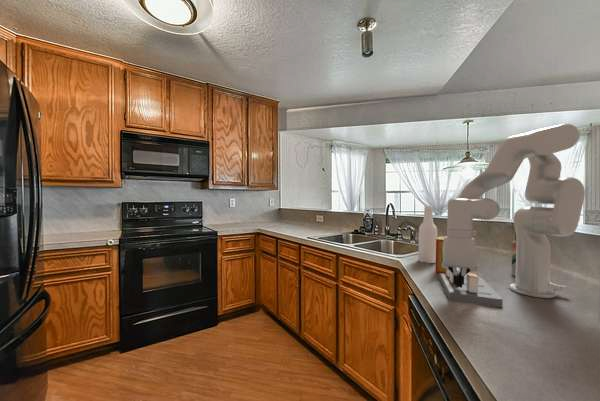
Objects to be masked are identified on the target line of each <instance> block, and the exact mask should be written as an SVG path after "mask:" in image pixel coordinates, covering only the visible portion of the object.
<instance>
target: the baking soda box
mask: <svg viewBox="0 0 600 401" xmlns="http://www.w3.org/2000/svg"><path fill="white" fill-rule="evenodd" d="M444 237H445V236H437V239H436V263H435V273H436V274H440V273H443V274H446V269H445V268H442V266H441V265H442V262H443V261H442V249H443V241H444Z"/></svg>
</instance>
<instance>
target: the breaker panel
mask: <svg viewBox="0 0 600 401" xmlns="http://www.w3.org/2000/svg"><path fill="white" fill-rule="evenodd" d="M438 274H439V282H440V284H441V286H442V288H443V290H444V292H445V294H446V296H447V298H448V301H451V302H453V301H454V302H460V303H461V302H462V303H468V304H474V305H476V304H477V305H483V306H491V307H498V308H503V302H504V301H503V298H502V297H501V296H500V295H499V294H498V293H497V292H496V291H495V290H494V288H492V287H491V285H489V284H488V283H487V282H486V281H485V280H484V279H483V278H482V277H481V276H478V293H474V292H469V291H468V289H467V275H465V276H464V285H462V288H461V287H456V285H455V284H454V283H451V281H450V277H448V276H447V274H443V273H438Z"/></svg>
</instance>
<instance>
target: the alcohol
mask: <svg viewBox="0 0 600 401" xmlns="http://www.w3.org/2000/svg"><path fill="white" fill-rule="evenodd" d="M423 207H424V211H423V220H422V222H421V224H420V226H419V228H418V256H417V257H418V261H419V260H420V261H422V262H421V263H423V262H425V263H424V264H429V263H433V264H436V239H437V238H438V227H437V226H436V224H435V223H434V216H433V205H424V206H423ZM420 261H419V262H420Z"/></svg>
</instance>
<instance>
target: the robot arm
mask: <svg viewBox="0 0 600 401" xmlns="http://www.w3.org/2000/svg"><path fill="white" fill-rule="evenodd" d="M580 136H581V135H580V130H579V128H578V127H576V126H575V125H573V124H570V123H562V124H559V125H553V126H549V127H544V128H539V129H536V130H531V131H528V132H525V133H520V134H517V135H516V134H515V135H512V136H509V137H506V138H505V139H503V140H502V142H501V143H500V145H499V146H498V148H497V150H496V151H495V153H494V154H493V157H492V158H491V160H490V161H489V163H488V165H487V167H486V169H485V170H484V171H483V172H481V173H480V174H478V175H477V176H476V177H474V178H473V179H472V180H471V181H470V182H469V183H468V184H466V186H464V188H463V189H462V191H461V192H460V194H459V196H458V197H457V198H451V199H449V200H448V202H447V217H446V218H447V219H446V220H447V222H446V223H447V225H446V226H447V227H446V228H447V230H446V231H447V232H446V234H447V235H446V236H443V237H444V241H443V249H442V261H443V262H442V265H441V266H442V268H445V269H448V270H450V271H451V272H452V273H453V283H454V284H455V285H456V287H461V288H462V285H464V276H467V273H470V272H477V271H478V268H477V265H478V255H477V247H476V244H477V243H476V240H475V238H474V236H478V231H477V230H476V231H475V230H474V229H473V226H474V225H473V224H474V223H473V222H474V220H481V221H488V220H493V219H495V218H496V217H497V216H498V215H499V214H500V210H501V208H500V205H499V203H498V202H497V201H496V200H494V199H491V198H489V197H488V198H487V197H482V196H483V195H484V194H485V193H487V192H489V191H491V190H493V189H496V188H498V187H500V186H503V185H506V184H507V183H509V182H511V181H512V180H513V179H514V177H515V176H516V173H517V172H518V171H519V170H518V169H519V168H520V166H521V165H522V163H523V162H524V160H525V159H527V160H528V161H529V162H528V163H529V165H530V167H529V173H528V178H527V182H526V186H525V192H524V197H525V200H526V201H527V202H529V203H532V204H536V205H537V204H538V205H553V207H543V206H526V207H521V208H519V209H518V210H516V211H515V213H514V214H513V226H514V231H515V232H516V275H515V276H514V277H515V279H514V280H515V282H513V283H510V284H509V288H510V290H511V291H513V292H515V293H517V294H522V295H524V296H529V297H533V298H539V299H552V298H555V297H556V291H558V292H568V286H566V285H560V284H557V283H553V282H551V280H550V278H551V277H550V275H551V252H552V250H551V243H550V240H549V239H548V237H547V236H546V235H549V236H552V237H553V236H554V237H569V236H571V235H573V234H574V233H575V232H576V230H577V229H578V226H579V223H580V219H581V218H580V217H581V214H582V209H583V205H584V201H585V195H586V191H585V186H584V184H583V182H582V181H581V180H579V179H578V178H575V177H571V176H561V172H562V163H561V161H560V159H559V158H558V157H557V156H556V155H555V153H558V152H563V151H565V150H569V149H571V148H573V147H574V146H575V145H576V144H578V142H579V139H580ZM457 268H460V269H459V270H460V272H459V274H458V273H457Z"/></svg>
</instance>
